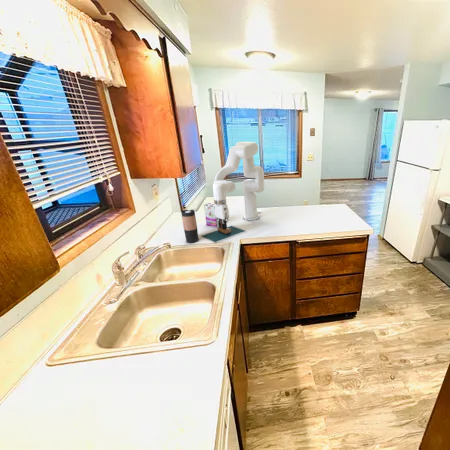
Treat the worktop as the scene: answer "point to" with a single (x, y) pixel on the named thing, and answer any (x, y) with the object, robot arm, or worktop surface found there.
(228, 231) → the brush
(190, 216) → the travel mug
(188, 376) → the worktop surface
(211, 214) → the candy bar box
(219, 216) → the robot arm
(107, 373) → the worktop surface
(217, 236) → the mat
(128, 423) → the worktop surface
